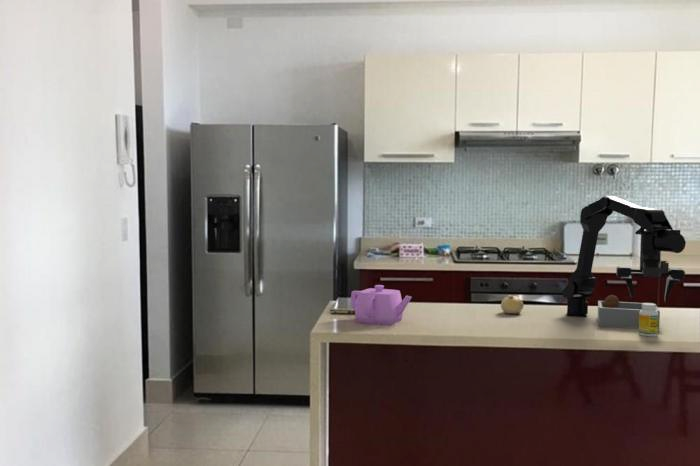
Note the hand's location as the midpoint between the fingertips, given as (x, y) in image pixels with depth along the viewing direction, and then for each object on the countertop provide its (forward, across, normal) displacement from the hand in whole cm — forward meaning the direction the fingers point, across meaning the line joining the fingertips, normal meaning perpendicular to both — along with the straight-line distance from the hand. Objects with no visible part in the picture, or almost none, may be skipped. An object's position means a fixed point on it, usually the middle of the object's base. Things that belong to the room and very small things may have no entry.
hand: (648, 300), depth 193 cm
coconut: (+10, -11, +16) cm, 21 cm away
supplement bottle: (+11, 0, 0) cm, 11 cm away
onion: (+11, -43, +20) cm, 49 cm away
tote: (+11, -5, +15) cm, 19 cm away
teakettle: (+11, -84, -8) cm, 85 cm away
